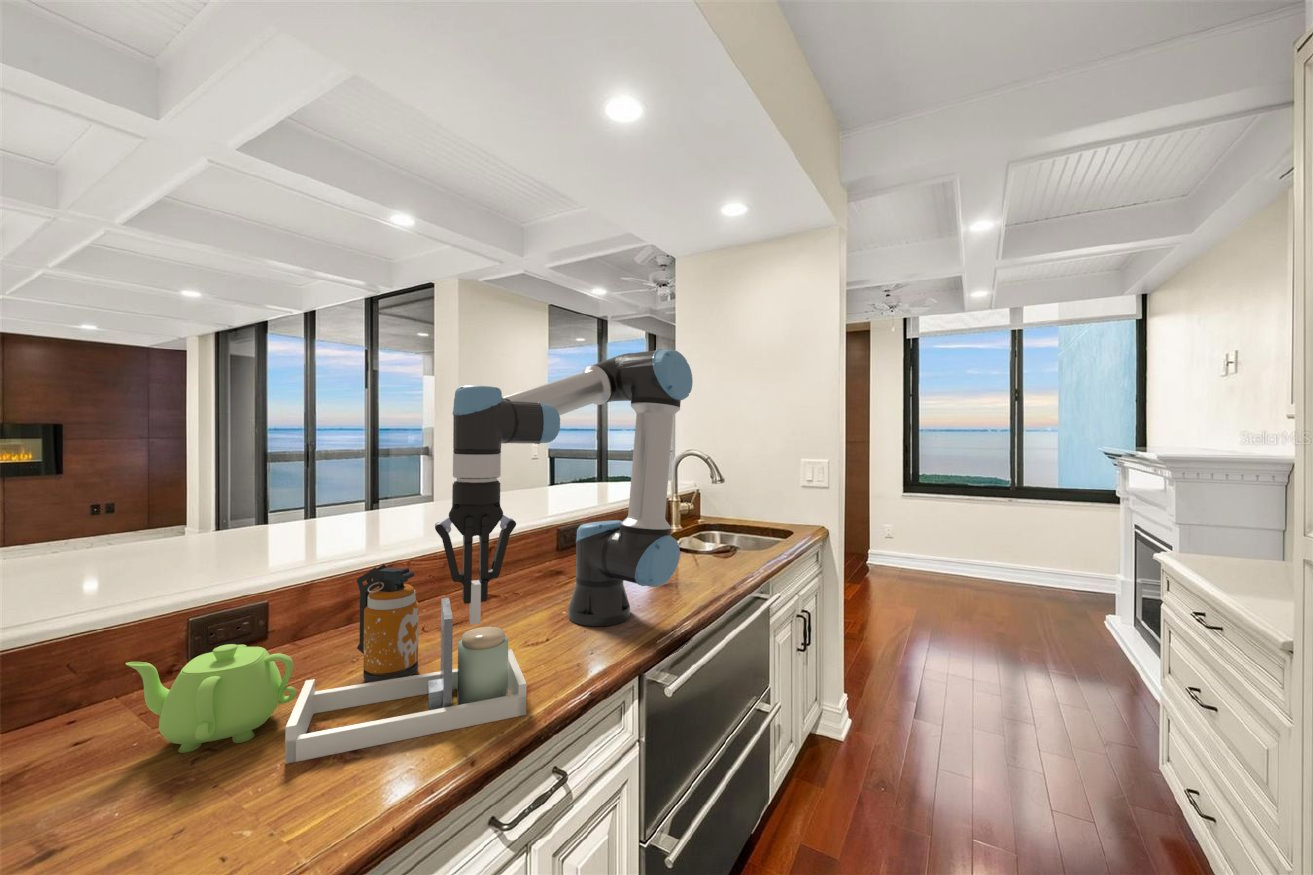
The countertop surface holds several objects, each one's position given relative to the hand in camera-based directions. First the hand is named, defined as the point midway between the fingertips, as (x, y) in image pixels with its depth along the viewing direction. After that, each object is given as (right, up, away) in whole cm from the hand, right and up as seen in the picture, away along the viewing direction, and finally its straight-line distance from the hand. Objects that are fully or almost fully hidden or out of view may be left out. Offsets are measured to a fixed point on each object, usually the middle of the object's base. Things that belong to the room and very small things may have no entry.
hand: (474, 621), depth 88 cm
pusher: (-5, -13, -2) cm, 14 cm away
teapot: (-35, -13, -10) cm, 39 cm away
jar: (+1, -14, +1) cm, 14 cm away
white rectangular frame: (-8, -13, -3) cm, 16 cm away
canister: (-20, -13, +10) cm, 26 cm away
